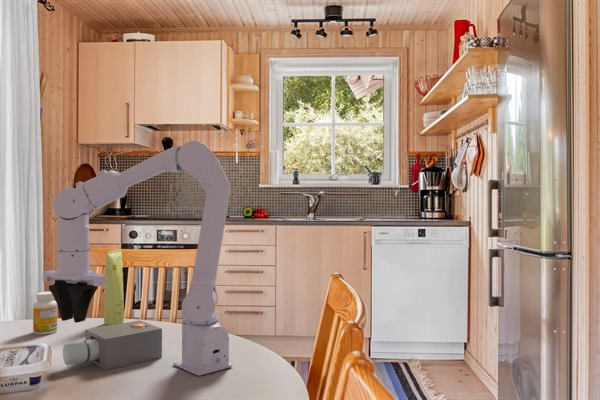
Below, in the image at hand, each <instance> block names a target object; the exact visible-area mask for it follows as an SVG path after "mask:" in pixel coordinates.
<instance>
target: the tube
mask: <svg viewBox="0 0 600 400" xmlns="http://www.w3.org/2000/svg"><path fill="white" fill-rule="evenodd" d="M105 258H106V259H105V272H104V273H105V274H104V275H105V285H104V301H103V302H104V305H103V310H104V312H103V314H104V315H103V323H104V326H109V325H115V324H121V323H125V313H124V311H125V310H124V309H125V306H124V305H125V304H124V303H125V302H124V297H125V296H124V295H125V294H124V272H123V271H124V270H123V269H124V268H123V254H122V248H118V249H114V250H109V251H107V252H106V257H105Z"/></svg>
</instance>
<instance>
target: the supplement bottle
mask: <svg viewBox="0 0 600 400" xmlns="http://www.w3.org/2000/svg"><path fill="white" fill-rule="evenodd" d="M35 295H36V301H35V302H34V303H33V307H32V310H33V311H32V320H33V321H32V327H33V328H32V330H33V334H34V335H38V336H39V335H40V336H44V335H50V334H54V333H57V332H58V306H57V303H56V300H55V298H54V296H53V295H52V293H51V291H40V292H37V293H36V294H35Z"/></svg>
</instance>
